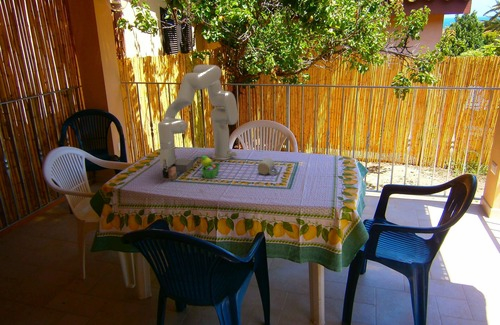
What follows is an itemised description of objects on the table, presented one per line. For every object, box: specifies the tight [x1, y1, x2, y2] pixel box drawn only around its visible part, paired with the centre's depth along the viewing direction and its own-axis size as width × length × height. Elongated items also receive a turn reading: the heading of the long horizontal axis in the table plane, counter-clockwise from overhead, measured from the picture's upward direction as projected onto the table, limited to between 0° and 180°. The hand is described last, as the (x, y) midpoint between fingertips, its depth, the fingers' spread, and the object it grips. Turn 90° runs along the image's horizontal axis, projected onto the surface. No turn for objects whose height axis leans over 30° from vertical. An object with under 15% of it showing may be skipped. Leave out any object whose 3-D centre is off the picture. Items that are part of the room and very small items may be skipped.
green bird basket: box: [200, 155, 221, 179], centre depth 206 cm, size 11×9×11 cm
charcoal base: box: [176, 158, 194, 173], centre depth 219 cm, size 10×10×4 cm
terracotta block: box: [163, 166, 178, 181], centre depth 204 cm, size 5×5×6 cm
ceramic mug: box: [257, 157, 279, 176], centre depth 207 cm, size 11×8×8 cm
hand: (169, 175), depth 204 cm, fingers open, 9 cm apart
